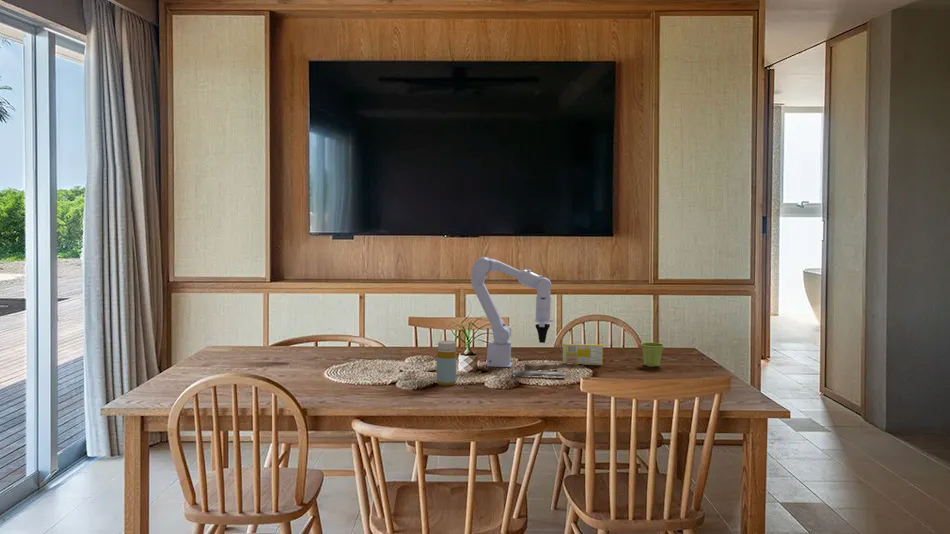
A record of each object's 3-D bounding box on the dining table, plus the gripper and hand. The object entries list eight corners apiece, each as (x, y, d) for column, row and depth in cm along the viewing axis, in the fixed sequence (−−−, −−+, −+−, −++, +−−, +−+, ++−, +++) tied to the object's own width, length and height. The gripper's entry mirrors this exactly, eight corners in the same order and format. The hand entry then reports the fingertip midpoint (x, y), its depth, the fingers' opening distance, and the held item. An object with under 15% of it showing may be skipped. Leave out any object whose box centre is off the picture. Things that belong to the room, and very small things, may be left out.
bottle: (448, 387, 279) (449, 344, 277) (432, 384, 282) (433, 342, 281) (459, 383, 284) (460, 341, 283) (443, 380, 288) (444, 339, 287)
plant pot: (638, 366, 321) (638, 345, 320) (642, 362, 330) (643, 341, 329) (661, 368, 317) (662, 347, 317) (665, 364, 326) (666, 343, 325)
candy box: (602, 364, 324) (602, 344, 323) (602, 365, 322) (603, 345, 321) (562, 363, 325) (562, 343, 325) (562, 364, 323) (562, 344, 322)
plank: (528, 373, 305) (528, 365, 304) (524, 371, 308) (524, 363, 308) (556, 371, 309) (557, 364, 309) (552, 369, 313) (552, 362, 312)
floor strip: (512, 376, 297) (512, 372, 297) (513, 373, 303) (513, 369, 303) (565, 379, 295) (565, 374, 295) (566, 376, 300) (566, 371, 300)
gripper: (552, 311, 306) (551, 346, 307) (554, 306, 320) (553, 339, 321) (534, 310, 307) (533, 345, 308) (536, 305, 321) (535, 339, 322)
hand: (542, 342), depth 315 cm, fingers closed
